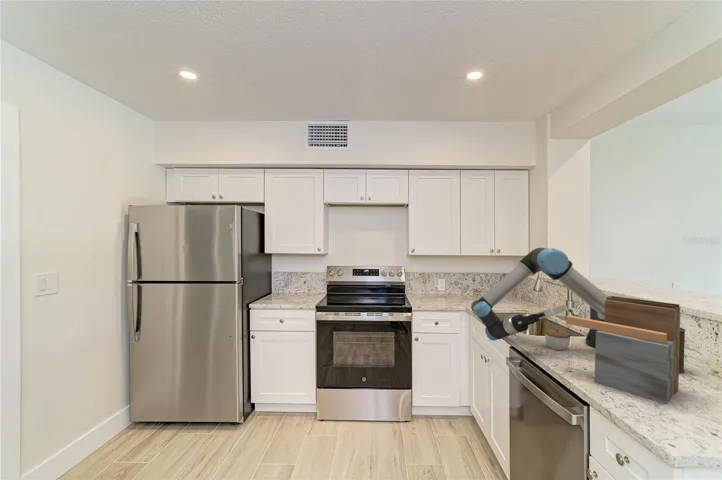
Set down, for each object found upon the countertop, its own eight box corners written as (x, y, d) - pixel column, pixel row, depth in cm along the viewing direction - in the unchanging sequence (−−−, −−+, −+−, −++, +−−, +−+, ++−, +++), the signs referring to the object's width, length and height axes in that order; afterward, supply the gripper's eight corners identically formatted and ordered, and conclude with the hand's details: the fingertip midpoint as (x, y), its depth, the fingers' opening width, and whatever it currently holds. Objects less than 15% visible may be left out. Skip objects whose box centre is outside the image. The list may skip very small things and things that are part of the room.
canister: (647, 361, 143) (648, 316, 143) (679, 366, 138) (680, 320, 138) (654, 370, 134) (655, 322, 134) (689, 376, 129) (690, 326, 129)
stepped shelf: (611, 370, 133) (612, 295, 133) (678, 389, 117) (680, 303, 117) (594, 381, 122) (596, 299, 122) (666, 404, 106) (668, 309, 106)
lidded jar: (575, 351, 155) (575, 332, 155) (556, 352, 153) (557, 333, 153) (557, 344, 166) (557, 325, 166) (539, 345, 164) (539, 326, 163)
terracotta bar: (569, 322, 135) (569, 315, 135) (666, 342, 111) (667, 333, 111) (566, 323, 133) (566, 316, 133) (664, 343, 109) (664, 334, 109)
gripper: (533, 328, 157) (576, 314, 142) (505, 337, 142) (550, 322, 127) (525, 313, 160) (567, 297, 145) (498, 320, 145) (541, 304, 130)
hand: (559, 309), depth 136 cm, fingers open, 13 cm apart
